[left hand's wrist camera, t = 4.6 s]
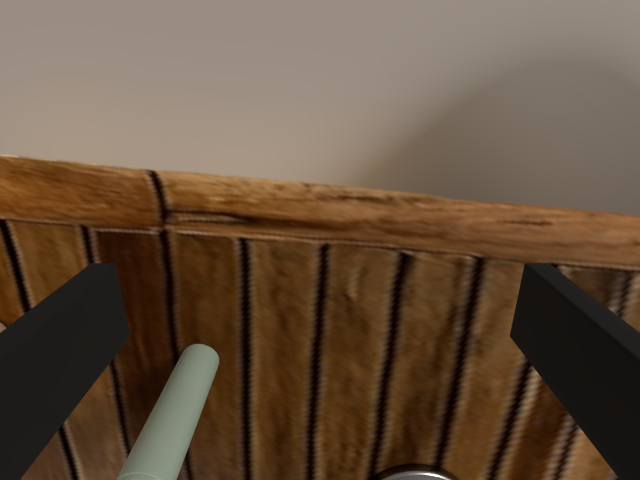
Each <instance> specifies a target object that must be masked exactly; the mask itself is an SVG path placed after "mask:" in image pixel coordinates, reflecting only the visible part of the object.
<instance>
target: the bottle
mask: <svg viewBox="0 0 640 480" xmlns="http://www.w3.org/2000/svg"><path fill="white" fill-rule="evenodd" d="M218 365H219V357H218V355H217V353H216V352H215V351H214V350H213V349H212V348H211V347H209V346H207V345H203V344H194V345H191V346H188V347H187V348H186V349H185V350H184V351H183V353H182V355H181V356H180V358H179V360H178V362H177V364H176V366H175V368H174V370H173V372H172V374H171V376H170V378H169V379H168V381H167V383H166V385H165V387H164V389H163V391H162V393H161V395H160V397H159V399H158V401H157V402H156V404H155V406H154V408H153V410H152V412H151V414H150V416H149V418H148V420H147V422H146V424H145V425H144V427H143V429H142V431H141V433H140V435H139V437H138V439H137V441H136V443H135V445H134V447H133V448H132V450H131V452H130V454H129V456H128V458H127V460H126V462H125V464H124V466H123V468H122V470H121V471H120V473H119V475H118V477H117V479H116V480H177V477H178V474H179V471H180V469H181V466H182V463H183V461H184V458H185V455H186V452H187V450H188V447H189V444H190V442H191V439H192V436H193V433H194V431H195V428H196V425H197V422H198V420H199V417H200V414H201V412H202V409H203V406H204V403H205V401H206V398H207V395H208V393H209V390H210V387H211V384H212V382H213V379H214V376H215V374H216V371H217V368H218Z"/></svg>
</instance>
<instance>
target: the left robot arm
mask: <svg viewBox="0 0 640 480" xmlns="http://www.w3.org/2000/svg"><path fill="white" fill-rule="evenodd" d="M129 337H130V333H129V328H128V323H127V319H126V314H125V309H124V304H123V299H122V294H121V290H120V285H119V280H118V275H117V270H116V265H115V263H91V264H90V265H89V266H87V267H86V268H85V269H83V270H82V271H81V272H79V273H78V274H77V275H75V276H74V277H73V278H71V279H70V280H69V281H68V282H66V283H65V284H64V285H62V286H61V287H60V288H58V289H57V290H56V291H54V292H53V293H52V294H50V295H49V296H48V297H46V298H45V299H44V300H43V301H41V302H40V303H39V304H37V305H36V306H35V307H33V308H32V309H31V310H29V311H28V312H27V313H25V314H24V315H23V316H22V317H20V318H19V319H18V320H16V321H15V322H14V323H12V324H11V325H10V326H8V327H7V328H6V329H4V330H3V331H2V332H1V333H0V480H20V479H21V477H22V476H23V475H24V474H25V472H26V471H27V470H28V468H29V467H30V466H31V464H32V463H33V462H34V461H35V459H36V458H37V457H38V455H39V454H40V453H41V451H42V450H43V449H44V448H45V446H46V445H47V444H48V442H49V441H50V440H51V438H52V437H53V436H54V435H55V433H56V432H57V431H58V429H59V428H60V427H61V425H62V424H63V423H64V422H65V420H66V419H67V418H68V416H69V415H70V414H71V412H72V411H73V410H74V409H75V407H76V406H77V405H78V403H79V402H80V401H81V399H82V398H83V397H84V396H85V394H86V393H87V392H88V390H89V389H90V388H91V386H92V385H93V384H94V383H95V381H96V380H97V379H98V377H99V376H100V375H101V373H102V372H103V371H104V370H105V368H106V367H107V366H108V364H109V363H110V362H111V360H112V359H113V358H114V357H115V355H116V354H117V353H118V351H119V350H120V349H121V347H122V346H123V345H124V343H125V342H126V341H127V340H128V338H129ZM510 337H511V338H512V340H513V341H514V342H515V343H516V345H517V346H518V347H519V349H520V350H521V351H522V353H523V354H524V355H525V357H526V358H527V359H528V360H529V362H530V363H531V364H532V366H533V367H534V368H535V370H536V371H537V372H538V373H539V375H540V376H541V377H542V379H543V380H544V381H545V383H546V384H547V385H548V386H549V388H550V389H551V390H552V392H553V393H554V394H555V396H556V397H557V398H558V399H559V401H560V402H561V403H562V405H563V406H564V407H565V409H566V410H567V411H568V412H569V414H570V415H571V416H572V418H573V419H574V420H575V422H576V423H577V424H578V425H579V427H580V428H581V429H582V431H583V432H584V433H585V435H586V436H587V437H588V438H589V440H590V441H591V442H592V444H593V445H594V446H595V448H596V449H597V450H598V451H599V453H600V454H601V455H602V457H603V458H604V459H605V461H606V462H607V463H608V464H609V466H610V467H611V468H612V470H613V471H614V472H615V474H616V475H617V476H618V477H619V479H620V480H640V333H639V332H638V331H637V330H636V329H634V328H633V327H632V326H630V325H629V324H628V323H626V322H625V321H624V320H622V319H621V318H620V317H618V316H617V315H616V314H615V313H613V312H612V311H611V310H609V309H608V308H607V307H605V306H604V305H603V304H601V303H600V302H599V301H597V300H596V299H595V298H594V297H592V296H591V295H590V294H588V293H587V292H586V291H584V290H583V289H582V288H580V287H579V286H578V285H576V284H575V283H574V282H572V281H571V280H570V279H569V278H567V277H566V276H565V275H563V274H562V273H561V272H559V271H558V270H557V269H555V268H554V267H553V266H551V265H550V264H549V263H525V265H524V270H523V275H522V280H521V285H520V290H519V294H518V299H517V304H516V309H515V314H514V319H513V323H512V328H511V333H510ZM372 480H458V479H457V478H456V477H455V476H454V475H452V474H451V473H449V472H448V471H446V470H444V469H441V468H438V467H435V466H430V465H423V464H412V465H404V466H399V467H395V468H392V469H389V470H387V471H385V472H383V473H381V474H379V475H378V476H376V477H375V478H374V479H372Z"/></svg>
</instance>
